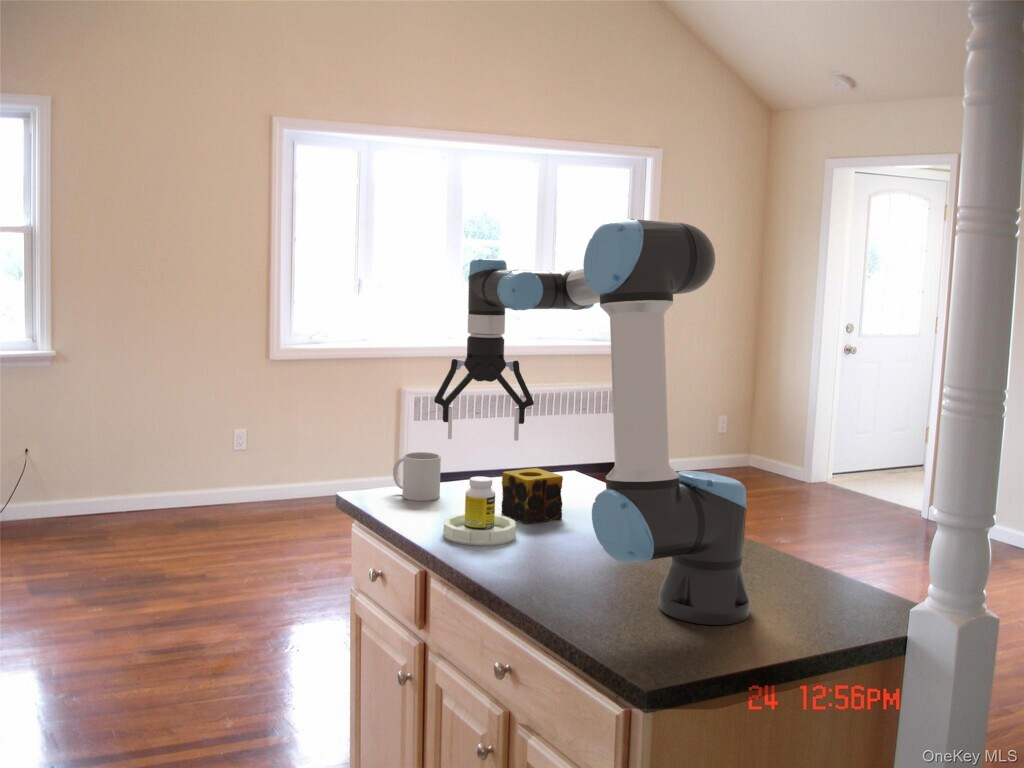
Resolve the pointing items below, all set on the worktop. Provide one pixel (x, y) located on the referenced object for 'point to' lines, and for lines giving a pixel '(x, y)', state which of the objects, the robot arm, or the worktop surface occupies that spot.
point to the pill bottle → (480, 505)
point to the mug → (419, 476)
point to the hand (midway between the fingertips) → (482, 438)
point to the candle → (532, 495)
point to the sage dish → (459, 534)
